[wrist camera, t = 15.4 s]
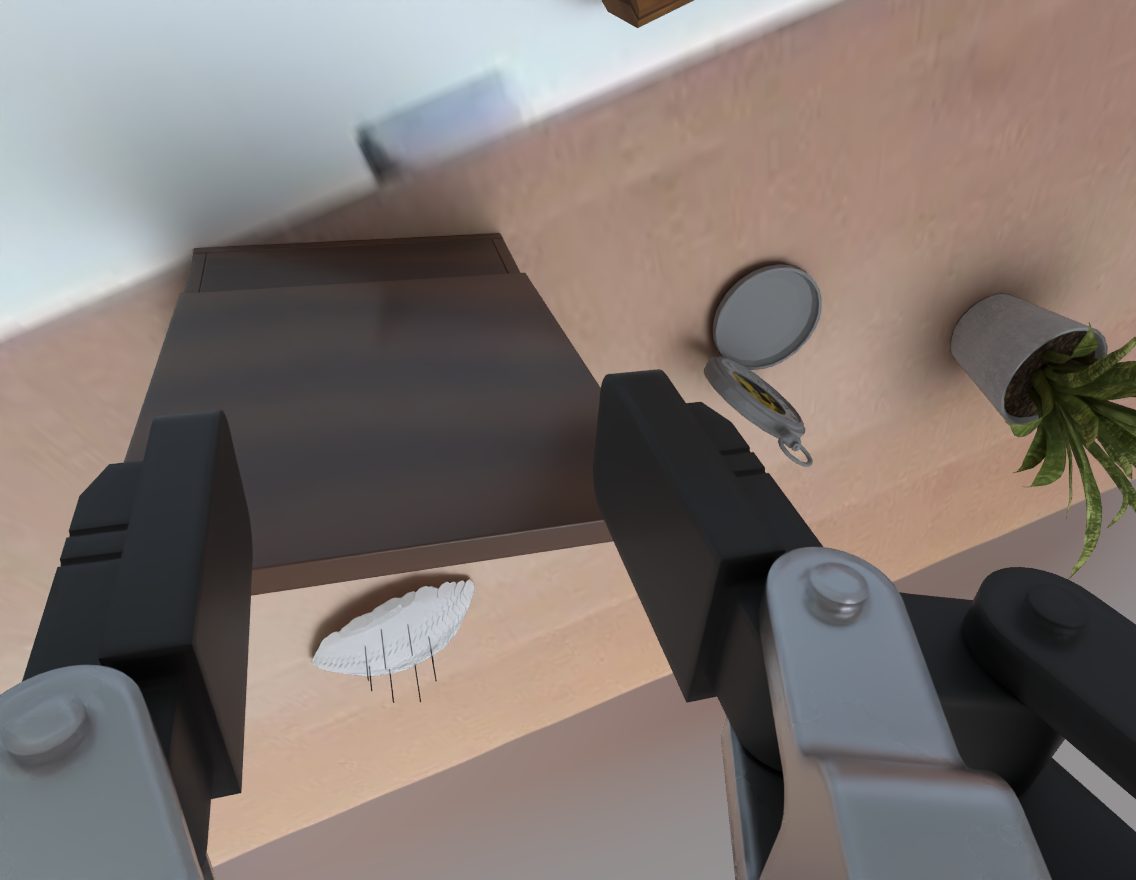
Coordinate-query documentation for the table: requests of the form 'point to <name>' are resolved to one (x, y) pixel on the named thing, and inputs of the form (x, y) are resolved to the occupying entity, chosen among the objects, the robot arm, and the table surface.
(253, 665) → the table surface
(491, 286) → the lid
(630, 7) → the diary
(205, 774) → the robot arm
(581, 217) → the table surface
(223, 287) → the box
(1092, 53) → the table surface
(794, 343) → the pocket watch
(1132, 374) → the house plant
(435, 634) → the pincushion
